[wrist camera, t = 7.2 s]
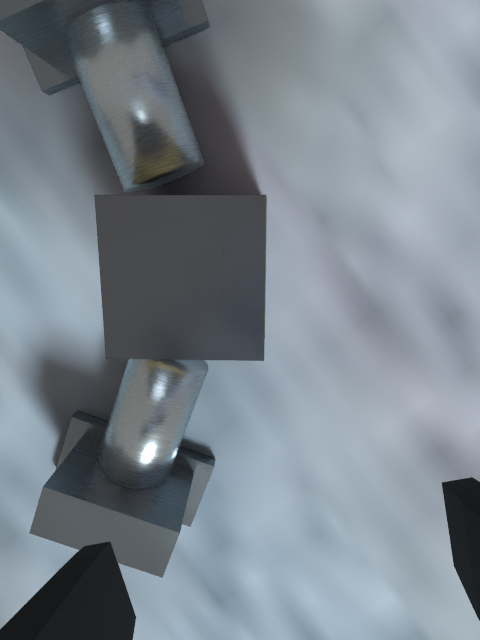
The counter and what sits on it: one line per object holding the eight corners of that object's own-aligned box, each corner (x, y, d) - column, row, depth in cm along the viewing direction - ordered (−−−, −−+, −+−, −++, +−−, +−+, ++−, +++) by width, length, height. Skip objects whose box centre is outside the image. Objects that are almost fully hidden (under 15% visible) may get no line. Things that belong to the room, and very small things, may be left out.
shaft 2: (104, 319, 19) (60, 350, 15) (250, 371, 19) (247, 416, 15) (58, 472, 21) (6, 540, 16) (192, 517, 21) (175, 596, 17)
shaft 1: (251, 149, 17) (249, 129, 13) (97, 209, 18) (47, 209, 14) (176, -72, 16) (146, -178, 11) (11, 4, 16) (-76, -69, 12)
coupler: (263, 315, 19) (265, 362, 13) (152, 314, 19) (104, 360, 13) (265, 199, 18) (268, 192, 12) (147, 199, 18) (92, 193, 12)
